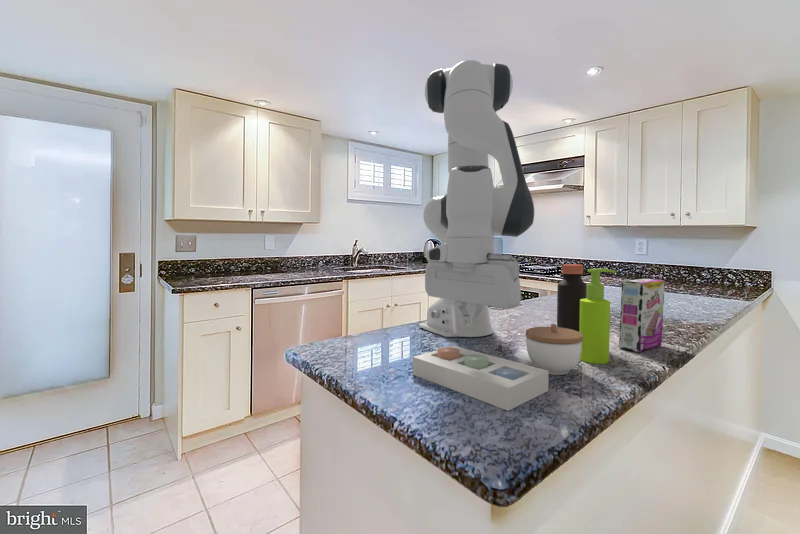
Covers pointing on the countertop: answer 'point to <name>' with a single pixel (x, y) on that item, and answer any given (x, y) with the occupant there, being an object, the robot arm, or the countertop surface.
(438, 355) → the button terracotta
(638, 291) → the candy bar box
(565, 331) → the lidded jar
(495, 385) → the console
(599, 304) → the soap dispenser
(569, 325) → the bottle
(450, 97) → the robot arm
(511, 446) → the countertop surface
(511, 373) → the button slate
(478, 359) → the button sage
